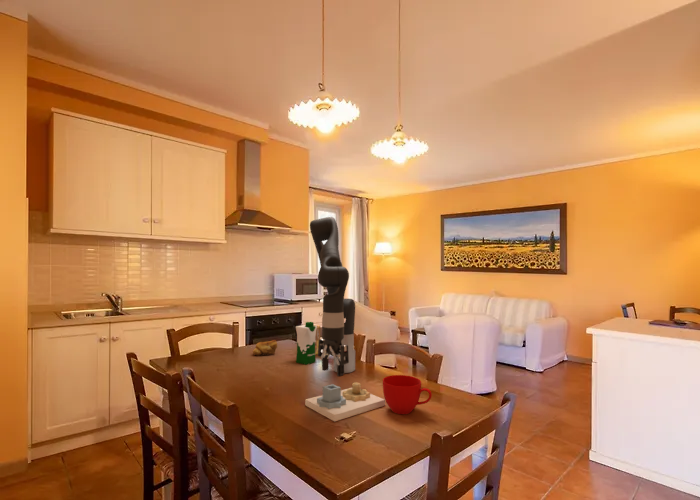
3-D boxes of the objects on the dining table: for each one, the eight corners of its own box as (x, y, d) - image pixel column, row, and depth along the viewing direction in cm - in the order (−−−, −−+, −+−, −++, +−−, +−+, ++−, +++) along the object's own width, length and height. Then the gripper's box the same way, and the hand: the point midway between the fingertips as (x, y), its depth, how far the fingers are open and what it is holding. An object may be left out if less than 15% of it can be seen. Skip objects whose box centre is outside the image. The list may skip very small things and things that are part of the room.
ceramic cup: (424, 424, 115) (424, 391, 116) (375, 412, 124) (375, 382, 125) (437, 411, 126) (438, 381, 127) (392, 400, 135) (392, 372, 136)
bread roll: (254, 357, 195) (255, 342, 195) (249, 353, 203) (250, 339, 204) (278, 355, 201) (278, 340, 202) (272, 351, 210) (273, 337, 210)
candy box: (318, 352, 208) (318, 324, 209) (320, 354, 204) (320, 326, 205) (302, 353, 205) (303, 325, 206) (304, 355, 201) (304, 326, 202)
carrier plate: (353, 392, 144) (354, 374, 144) (384, 405, 130) (385, 385, 131) (305, 405, 130) (305, 385, 130) (334, 421, 117) (334, 399, 117)
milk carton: (306, 365, 181) (307, 324, 181) (292, 362, 186) (293, 322, 187) (318, 361, 188) (318, 322, 189) (304, 359, 193) (305, 320, 194)
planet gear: (334, 396, 133) (334, 380, 134) (351, 404, 126) (352, 387, 126) (311, 402, 127) (311, 386, 127) (328, 411, 119) (328, 394, 120)
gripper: (354, 326, 124) (354, 375, 124) (329, 321, 135) (329, 366, 135) (337, 329, 120) (336, 380, 119) (312, 323, 131) (311, 370, 130)
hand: (332, 372), depth 127 cm, fingers open, 8 cm apart
